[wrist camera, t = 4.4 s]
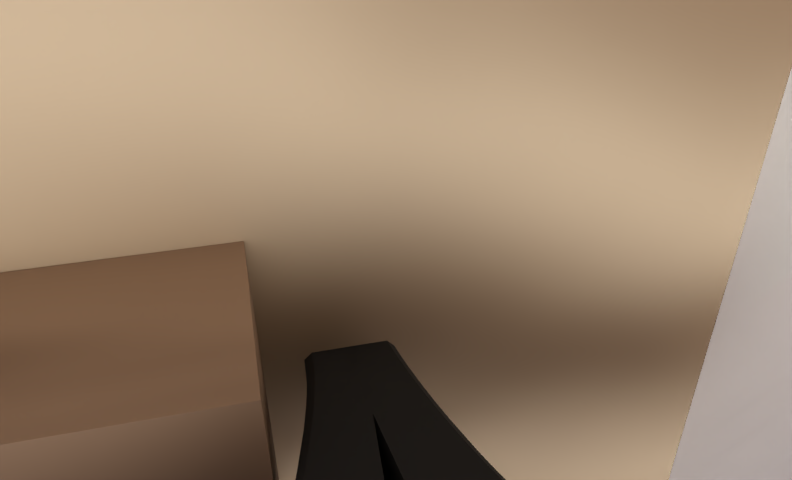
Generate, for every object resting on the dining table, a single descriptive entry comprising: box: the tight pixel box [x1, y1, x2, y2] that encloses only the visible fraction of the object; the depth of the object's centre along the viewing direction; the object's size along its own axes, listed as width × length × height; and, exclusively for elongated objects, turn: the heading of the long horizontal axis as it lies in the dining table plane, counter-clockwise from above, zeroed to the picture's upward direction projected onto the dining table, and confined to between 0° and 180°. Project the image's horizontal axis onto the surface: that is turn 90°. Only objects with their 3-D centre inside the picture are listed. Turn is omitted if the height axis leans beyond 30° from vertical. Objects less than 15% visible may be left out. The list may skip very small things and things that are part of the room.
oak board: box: [0, 0, 792, 480], centre depth 12 cm, size 12×15×2 cm
